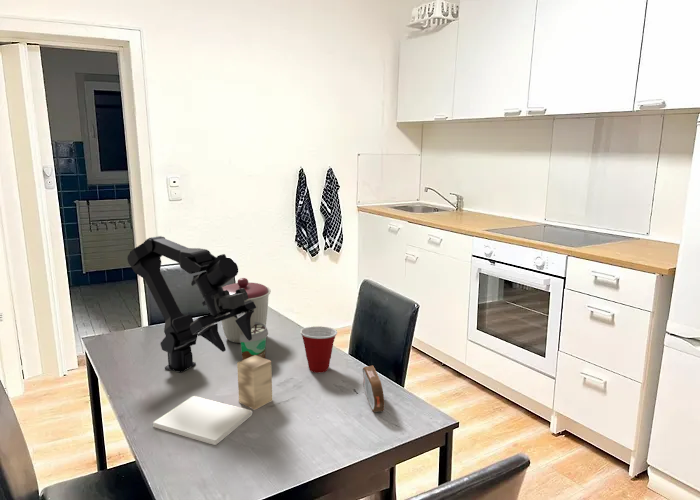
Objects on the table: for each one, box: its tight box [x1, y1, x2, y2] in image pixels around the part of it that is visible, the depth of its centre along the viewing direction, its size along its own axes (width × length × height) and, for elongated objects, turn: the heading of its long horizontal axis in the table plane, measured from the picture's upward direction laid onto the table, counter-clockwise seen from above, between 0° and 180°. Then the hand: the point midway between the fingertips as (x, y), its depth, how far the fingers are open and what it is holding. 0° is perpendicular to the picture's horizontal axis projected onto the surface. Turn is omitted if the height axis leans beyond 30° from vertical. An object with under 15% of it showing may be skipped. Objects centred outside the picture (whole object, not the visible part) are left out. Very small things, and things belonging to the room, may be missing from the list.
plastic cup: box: [299, 325, 338, 374], centre depth 149 cm, size 11×11×12 cm
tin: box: [362, 365, 385, 413], centre depth 130 cm, size 15×3×8 cm, turn 9°
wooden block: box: [236, 355, 273, 411], centre depth 130 cm, size 6×6×11 cm
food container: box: [240, 322, 269, 361], centre depth 155 cm, size 12×6×10 cm, turn 168°
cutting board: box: [152, 395, 253, 446], centre depth 122 cm, size 18×14×1 cm
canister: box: [221, 277, 271, 344], centre depth 171 cm, size 18×18×21 cm
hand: (237, 345), depth 134 cm, fingers open, 9 cm apart
